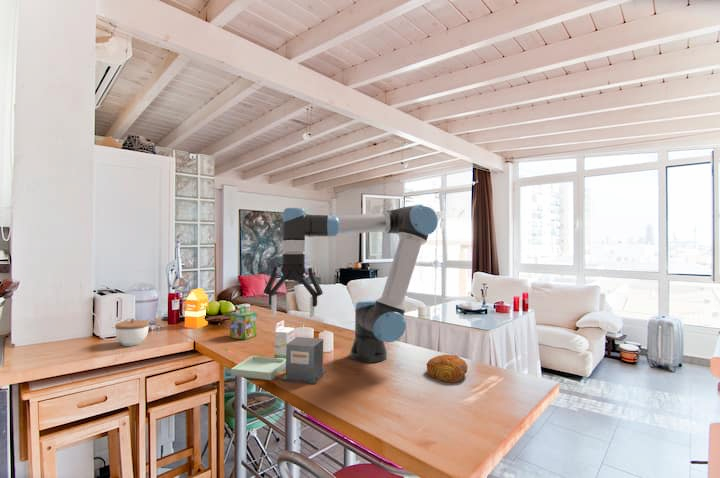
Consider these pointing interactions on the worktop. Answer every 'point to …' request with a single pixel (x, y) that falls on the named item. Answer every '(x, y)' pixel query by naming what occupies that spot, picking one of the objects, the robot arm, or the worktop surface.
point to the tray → (259, 367)
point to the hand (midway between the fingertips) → (292, 315)
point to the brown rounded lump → (447, 368)
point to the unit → (304, 360)
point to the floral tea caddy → (243, 324)
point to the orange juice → (196, 309)
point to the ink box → (282, 339)
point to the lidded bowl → (132, 332)
